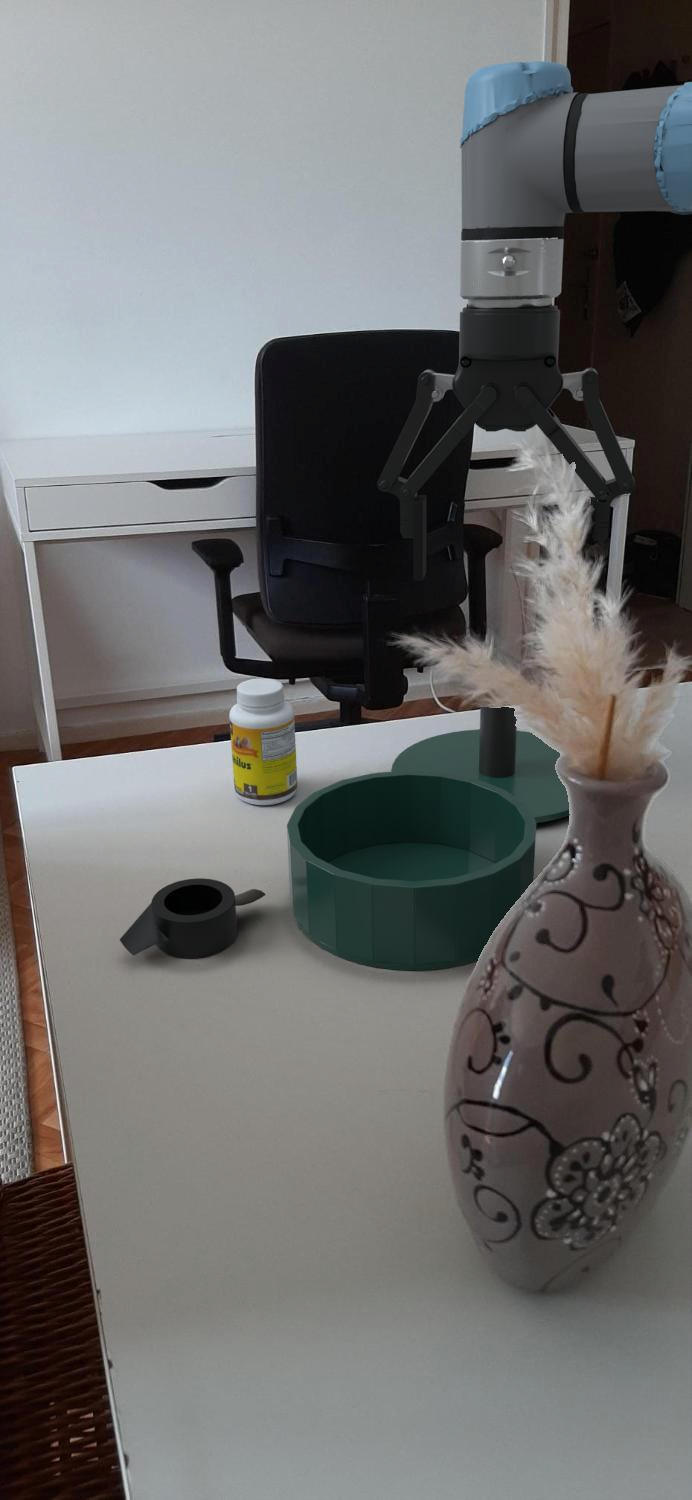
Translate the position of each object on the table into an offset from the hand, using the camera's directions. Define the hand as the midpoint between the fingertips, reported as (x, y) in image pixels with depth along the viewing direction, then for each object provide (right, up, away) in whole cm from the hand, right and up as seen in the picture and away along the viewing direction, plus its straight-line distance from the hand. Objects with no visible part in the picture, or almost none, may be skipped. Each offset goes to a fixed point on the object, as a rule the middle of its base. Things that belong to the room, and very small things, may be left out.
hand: (501, 578), depth 95 cm
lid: (+1, -16, +7) cm, 18 cm away
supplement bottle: (-20, -18, +7) cm, 28 cm away
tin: (-8, -25, -10) cm, 28 cm away
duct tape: (-23, -27, -14) cm, 39 cm away
